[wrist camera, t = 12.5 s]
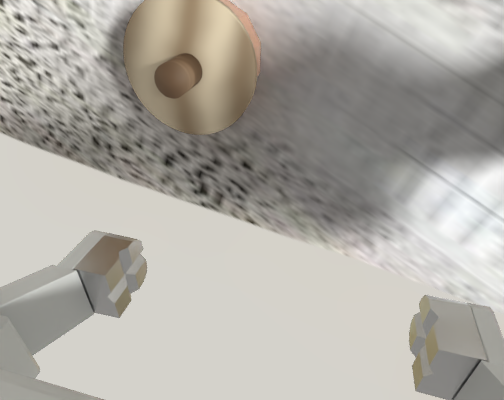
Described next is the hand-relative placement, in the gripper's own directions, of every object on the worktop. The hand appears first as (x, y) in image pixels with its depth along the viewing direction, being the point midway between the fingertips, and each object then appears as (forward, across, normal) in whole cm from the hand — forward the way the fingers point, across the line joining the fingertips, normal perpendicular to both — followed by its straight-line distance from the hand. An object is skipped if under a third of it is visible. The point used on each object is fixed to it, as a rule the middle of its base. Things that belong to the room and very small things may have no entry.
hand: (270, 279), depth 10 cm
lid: (+28, +14, +2) cm, 31 cm away
